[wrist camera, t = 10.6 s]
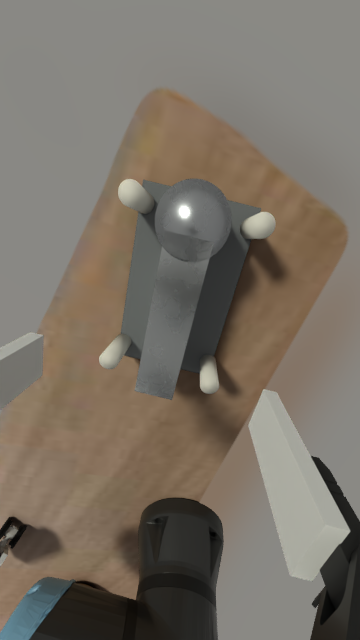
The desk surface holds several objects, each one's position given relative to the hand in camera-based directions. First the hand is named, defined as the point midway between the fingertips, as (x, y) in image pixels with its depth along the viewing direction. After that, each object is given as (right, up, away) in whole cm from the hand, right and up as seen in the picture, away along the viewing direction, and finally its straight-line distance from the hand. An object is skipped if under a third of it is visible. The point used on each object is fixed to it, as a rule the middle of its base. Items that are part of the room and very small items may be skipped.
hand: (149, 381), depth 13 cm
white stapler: (-36, -44, +33) cm, 66 cm away
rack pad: (+2, +7, +13) cm, 15 cm away
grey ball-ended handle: (+2, +7, +12) cm, 14 cm away
